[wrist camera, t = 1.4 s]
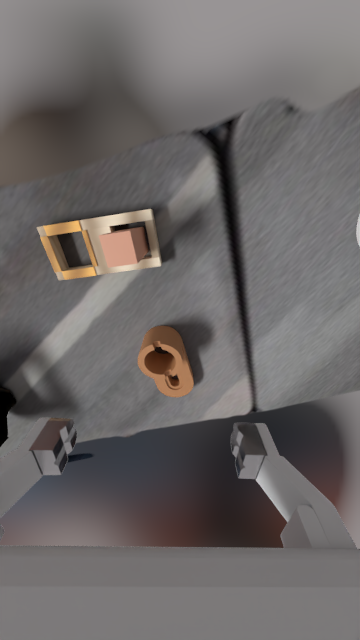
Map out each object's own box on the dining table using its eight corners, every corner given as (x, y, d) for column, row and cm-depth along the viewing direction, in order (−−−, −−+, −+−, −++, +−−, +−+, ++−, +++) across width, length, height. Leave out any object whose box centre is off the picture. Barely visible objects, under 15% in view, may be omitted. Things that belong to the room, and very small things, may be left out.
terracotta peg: (143, 226, 34) (130, 230, 25) (148, 251, 36) (137, 263, 27) (120, 230, 34) (98, 235, 25) (126, 254, 36) (108, 267, 27)
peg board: (152, 209, 33) (150, 208, 30) (162, 262, 37) (160, 266, 34) (46, 226, 34) (35, 227, 32) (66, 276, 38) (58, 280, 36)
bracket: (138, 330, 43) (131, 349, 37) (176, 321, 42) (175, 339, 36) (163, 391, 51) (161, 415, 45) (196, 384, 50) (198, 408, 44)
